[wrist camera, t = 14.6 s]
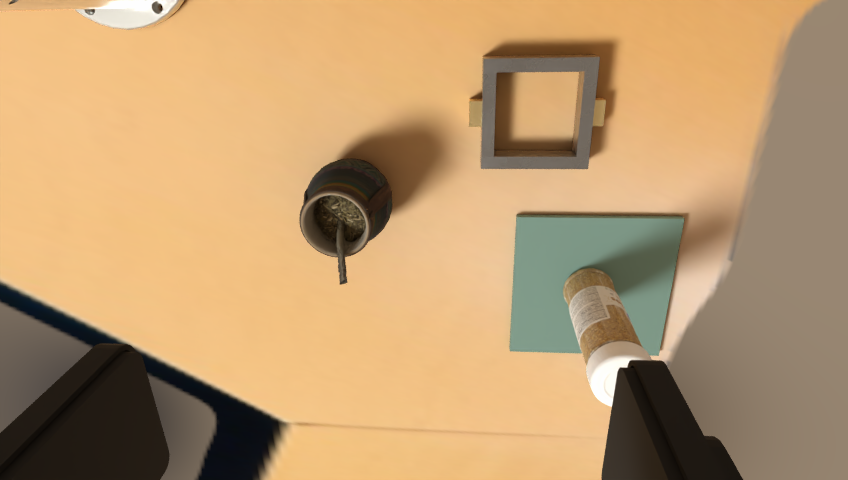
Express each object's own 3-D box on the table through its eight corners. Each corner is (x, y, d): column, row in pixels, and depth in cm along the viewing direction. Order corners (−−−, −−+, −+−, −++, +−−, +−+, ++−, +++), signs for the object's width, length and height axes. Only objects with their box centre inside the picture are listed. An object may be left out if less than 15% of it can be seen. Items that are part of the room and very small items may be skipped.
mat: (509, 347, 53) (510, 351, 52) (516, 214, 47) (517, 217, 47) (656, 351, 52) (658, 355, 51) (682, 216, 46) (684, 218, 46)
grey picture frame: (468, 161, 46) (468, 168, 44) (470, 56, 42) (470, 58, 40) (595, 162, 45) (600, 169, 43) (607, 54, 41) (613, 56, 39)
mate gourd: (376, 137, 45) (352, 172, 36) (411, 215, 48) (397, 266, 39) (301, 167, 47) (261, 208, 38) (340, 241, 50) (310, 296, 41)
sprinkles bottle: (621, 294, 49) (672, 393, 37) (576, 317, 50) (610, 420, 38) (597, 256, 48) (641, 346, 35) (551, 281, 49) (578, 375, 37)
